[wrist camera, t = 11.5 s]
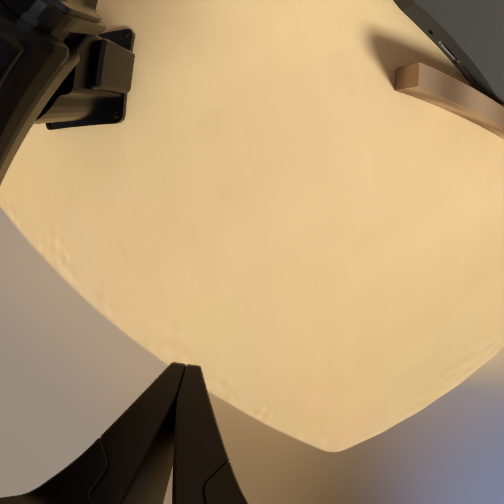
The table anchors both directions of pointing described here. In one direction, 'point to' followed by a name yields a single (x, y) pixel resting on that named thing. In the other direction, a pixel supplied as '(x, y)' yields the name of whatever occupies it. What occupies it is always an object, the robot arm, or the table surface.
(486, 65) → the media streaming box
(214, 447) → the robot arm
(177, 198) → the table surface
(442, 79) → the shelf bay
